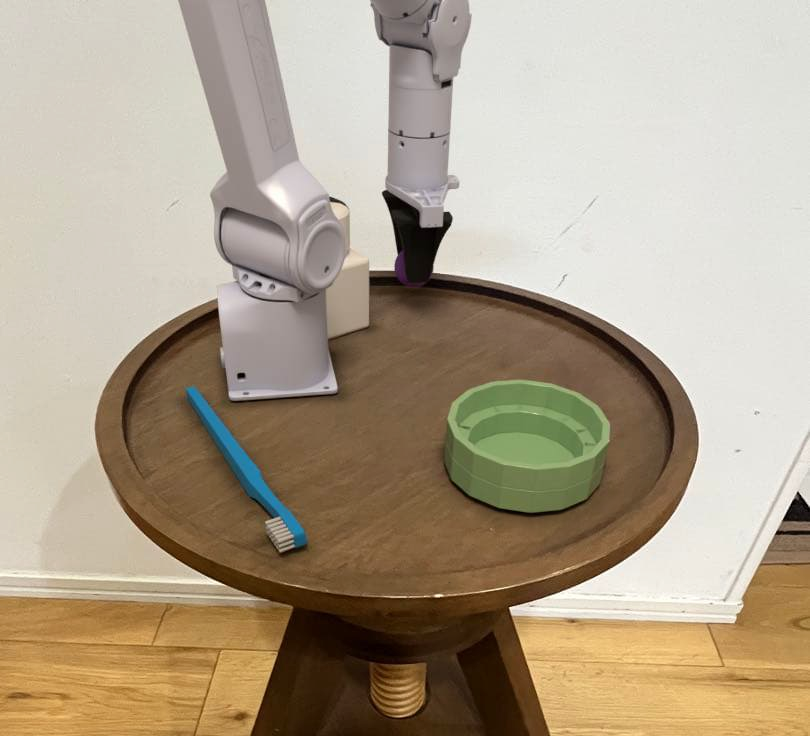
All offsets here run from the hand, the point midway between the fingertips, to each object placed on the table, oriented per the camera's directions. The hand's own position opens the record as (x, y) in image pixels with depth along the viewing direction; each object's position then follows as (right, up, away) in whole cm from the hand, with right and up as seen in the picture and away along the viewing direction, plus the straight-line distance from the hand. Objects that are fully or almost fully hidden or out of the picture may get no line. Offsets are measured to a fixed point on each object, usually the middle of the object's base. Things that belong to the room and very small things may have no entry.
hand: (413, 272), depth 87 cm
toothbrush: (-13, -21, -21) cm, 32 cm away
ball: (0, 0, 0) cm, 1 cm away
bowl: (+8, -22, -19) cm, 30 cm away
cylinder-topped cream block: (-9, -6, -1) cm, 11 cm away
